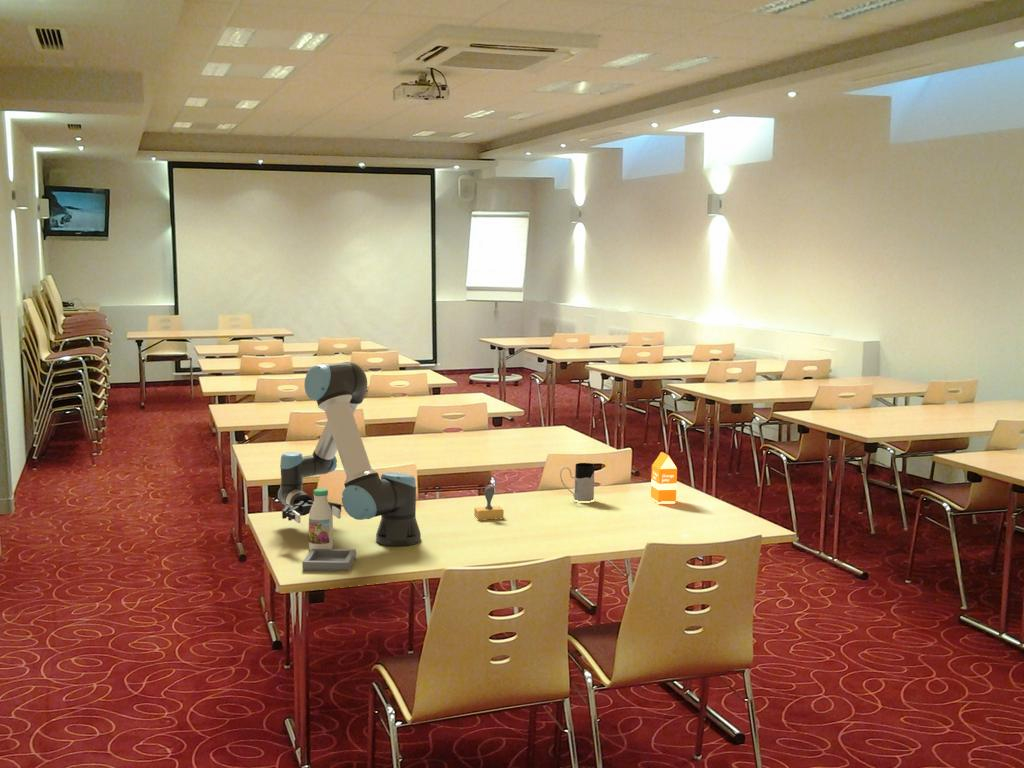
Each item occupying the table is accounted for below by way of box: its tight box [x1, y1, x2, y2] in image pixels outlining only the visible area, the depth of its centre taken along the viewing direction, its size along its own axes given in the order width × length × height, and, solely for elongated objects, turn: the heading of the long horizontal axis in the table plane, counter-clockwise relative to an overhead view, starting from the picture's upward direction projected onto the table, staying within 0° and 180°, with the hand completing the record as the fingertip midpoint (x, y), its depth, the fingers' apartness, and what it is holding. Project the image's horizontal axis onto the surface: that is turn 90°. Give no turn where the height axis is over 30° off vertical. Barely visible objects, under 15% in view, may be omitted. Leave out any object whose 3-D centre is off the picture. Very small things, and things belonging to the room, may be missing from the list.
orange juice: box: [650, 451, 678, 502], centre depth 386 cm, size 8×9×20 cm
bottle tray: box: [301, 548, 357, 572], centre depth 297 cm, size 14×14×3 cm
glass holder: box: [559, 462, 595, 501], centre depth 385 cm, size 9×14×15 cm, turn 91°
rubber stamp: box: [473, 486, 505, 521], centre depth 356 cm, size 10×6×12 cm, turn 106°
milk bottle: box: [308, 488, 334, 551], centre depth 312 cm, size 8×8×20 cm
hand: (319, 516), depth 312 cm, fingers open, 13 cm apart
